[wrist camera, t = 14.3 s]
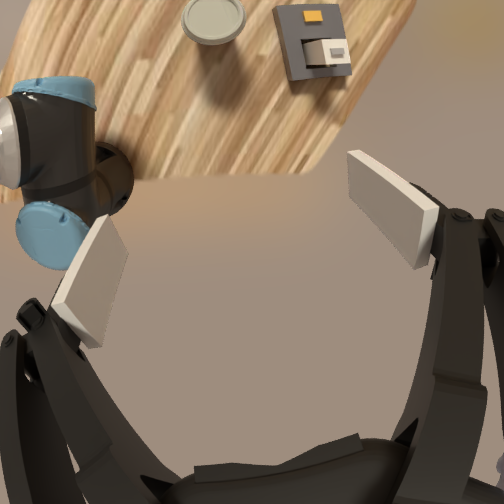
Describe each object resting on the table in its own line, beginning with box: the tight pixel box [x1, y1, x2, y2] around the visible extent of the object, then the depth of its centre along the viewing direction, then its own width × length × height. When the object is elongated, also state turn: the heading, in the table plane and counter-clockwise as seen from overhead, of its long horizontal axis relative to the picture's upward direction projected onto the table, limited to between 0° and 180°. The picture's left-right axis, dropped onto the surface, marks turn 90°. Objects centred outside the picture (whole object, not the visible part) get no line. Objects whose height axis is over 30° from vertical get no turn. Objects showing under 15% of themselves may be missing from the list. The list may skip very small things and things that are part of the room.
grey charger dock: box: [272, 4, 352, 81], centre depth 36 cm, size 11×14×4 cm
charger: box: [302, 39, 350, 65], centre depth 35 cm, size 4×4×11 cm
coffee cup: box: [181, 0, 246, 45], centre depth 30 cm, size 8×8×12 cm
